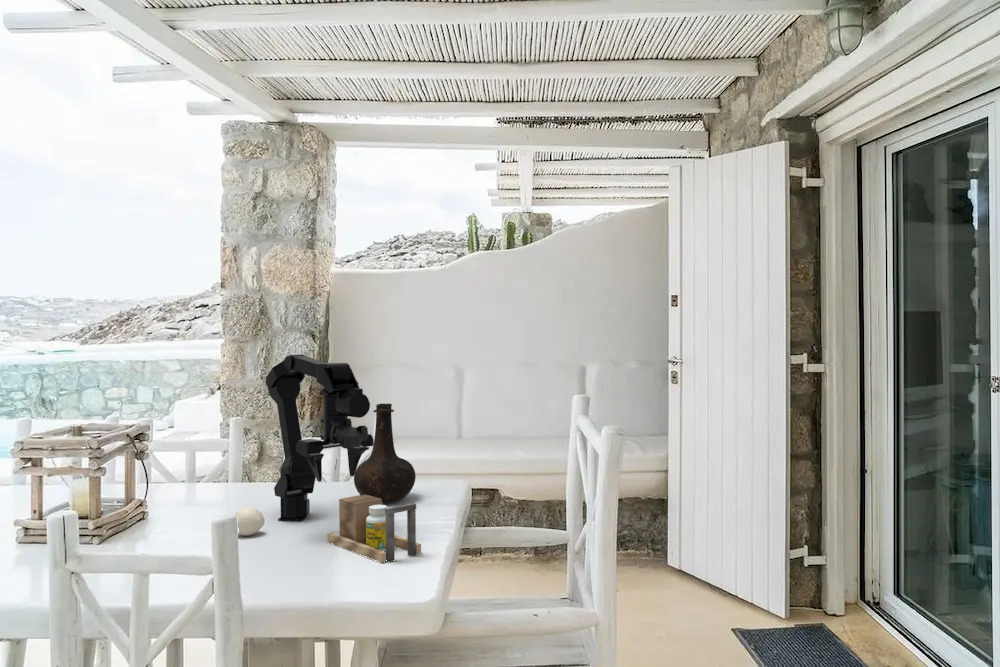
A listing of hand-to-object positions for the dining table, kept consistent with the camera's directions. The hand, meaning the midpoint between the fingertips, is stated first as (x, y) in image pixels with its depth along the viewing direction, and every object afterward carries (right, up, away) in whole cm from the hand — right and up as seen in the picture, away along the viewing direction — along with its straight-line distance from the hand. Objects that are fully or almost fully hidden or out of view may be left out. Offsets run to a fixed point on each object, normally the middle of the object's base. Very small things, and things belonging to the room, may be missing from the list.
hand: (336, 478), depth 177 cm
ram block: (+8, -13, -9) cm, 18 cm away
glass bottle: (+6, -13, +34) cm, 37 cm away
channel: (+11, -13, -13) cm, 22 cm away
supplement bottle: (+13, -13, -15) cm, 23 cm away
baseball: (-21, -13, -2) cm, 25 cm away
